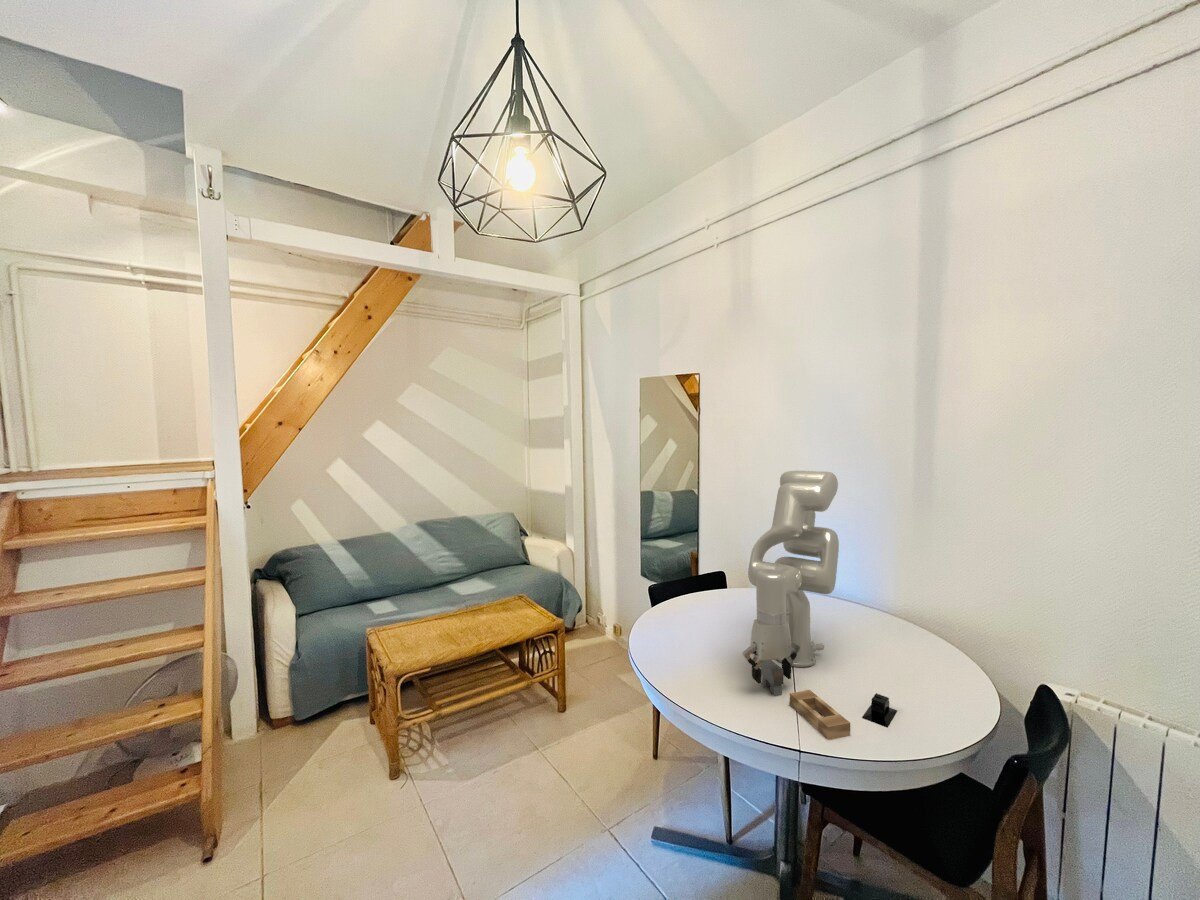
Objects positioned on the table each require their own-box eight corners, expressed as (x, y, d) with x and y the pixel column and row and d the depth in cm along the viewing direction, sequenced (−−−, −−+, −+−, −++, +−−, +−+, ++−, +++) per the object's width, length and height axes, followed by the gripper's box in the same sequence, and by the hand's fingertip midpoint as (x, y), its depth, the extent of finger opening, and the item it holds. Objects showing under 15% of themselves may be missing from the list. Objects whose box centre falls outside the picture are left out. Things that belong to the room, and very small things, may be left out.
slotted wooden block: (789, 704, 117) (789, 693, 117) (809, 700, 118) (809, 689, 118) (828, 739, 103) (828, 727, 103) (850, 735, 105) (850, 722, 104)
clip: (761, 684, 126) (760, 660, 126) (770, 683, 127) (770, 659, 127) (773, 697, 120) (773, 671, 120) (783, 695, 121) (783, 669, 121)
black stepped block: (871, 699, 119) (871, 682, 119) (904, 711, 114) (904, 694, 114) (856, 721, 110) (856, 703, 110) (890, 735, 105) (890, 716, 105)
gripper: (790, 608, 128) (790, 667, 129) (735, 614, 125) (736, 676, 125) (808, 618, 121) (808, 681, 122) (750, 625, 117) (750, 690, 118)
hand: (771, 678), depth 123 cm, fingers open, 8 cm apart
